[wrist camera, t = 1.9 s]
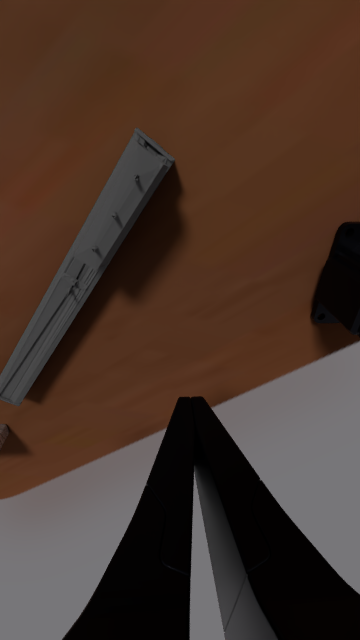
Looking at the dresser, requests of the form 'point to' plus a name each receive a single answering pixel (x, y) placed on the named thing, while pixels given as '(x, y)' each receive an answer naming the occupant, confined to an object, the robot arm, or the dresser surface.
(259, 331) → the dresser surface
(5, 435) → the end cap rail
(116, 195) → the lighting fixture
